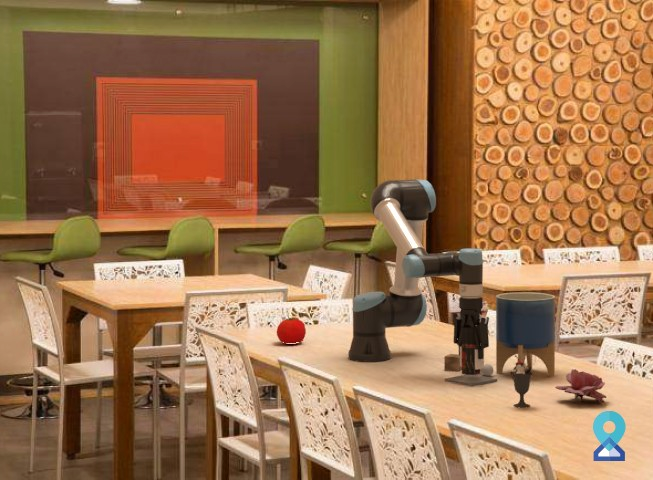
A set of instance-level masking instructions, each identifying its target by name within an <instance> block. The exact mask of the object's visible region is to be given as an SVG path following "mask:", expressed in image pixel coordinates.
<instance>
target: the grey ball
mask: <svg viewBox="0 0 653 480" xmlns="http://www.w3.org/2000/svg"><path fill="white" fill-rule="evenodd" d="M481 372H482V374H481V375H482V376H485V377H491V376H492V375H493V373H494V367H493V366H492V365H491V364H489V363H484V365H483V366H482V369H481Z"/></svg>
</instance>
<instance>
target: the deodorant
mask: <svg viewBox="0 0 653 480" xmlns="http://www.w3.org/2000/svg"><path fill="white" fill-rule="evenodd" d="M475 348H477V346H476V342H475V329H472V328H471V326H468V327H462V370H461V374H462V375H477V374H480V369H477V370H476V369H475Z"/></svg>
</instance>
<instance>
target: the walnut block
mask: <svg viewBox="0 0 653 480" xmlns="http://www.w3.org/2000/svg"><path fill="white" fill-rule="evenodd" d="M443 358H444V359H443V360H444V363H443V365H444V366H443V367H444V370H443V371H445V372H454V371H455V372H457V373H459V372H460V371H461V372H462V367H460V356H459V354H458V353H457V354H456V353H455V354H454V353H449V354H447V355H444V357H443ZM455 372H454V373H455Z"/></svg>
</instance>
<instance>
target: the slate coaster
mask: <svg viewBox="0 0 653 480" xmlns="http://www.w3.org/2000/svg"><path fill="white" fill-rule="evenodd" d="M444 382H448V383H451V384H452V383H453V384H457V385H461V386H462V385H463V386H467V387H476V386H482V385H486V384H490V383H496V382H498V378H494V377H491V376H484V375H466V374H462V375H457V376H456V375H455V376H451V377H446V378H444Z"/></svg>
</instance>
